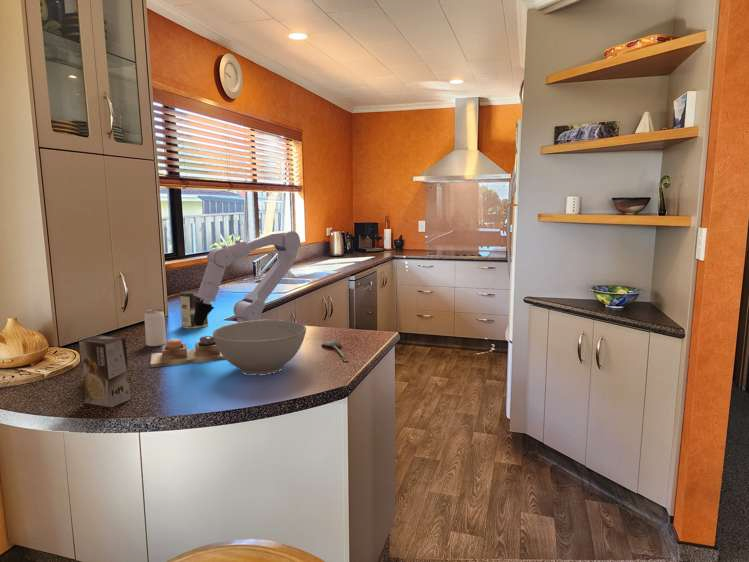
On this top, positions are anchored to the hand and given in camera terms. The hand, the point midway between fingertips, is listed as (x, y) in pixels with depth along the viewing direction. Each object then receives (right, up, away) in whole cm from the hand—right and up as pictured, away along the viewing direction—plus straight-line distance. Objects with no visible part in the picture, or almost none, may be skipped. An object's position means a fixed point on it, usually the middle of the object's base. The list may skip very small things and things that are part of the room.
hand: (197, 324), depth 167 cm
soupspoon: (+45, -10, +5) cm, 46 cm away
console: (-2, -11, 0) cm, 11 cm away
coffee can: (-16, -5, +44) cm, 48 cm away
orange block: (-6, -8, -2) cm, 11 cm away
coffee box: (-10, -16, -37) cm, 42 cm away
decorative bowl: (+24, -13, -12) cm, 29 cm away
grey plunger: (+3, -7, +1) cm, 8 cm away
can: (-20, -9, +16) cm, 27 cm away
